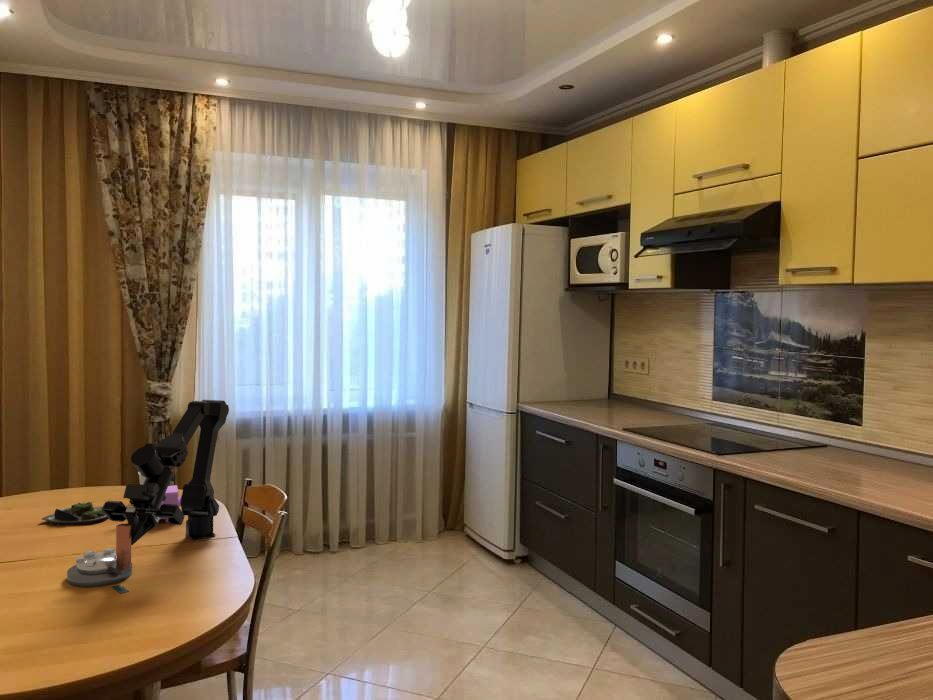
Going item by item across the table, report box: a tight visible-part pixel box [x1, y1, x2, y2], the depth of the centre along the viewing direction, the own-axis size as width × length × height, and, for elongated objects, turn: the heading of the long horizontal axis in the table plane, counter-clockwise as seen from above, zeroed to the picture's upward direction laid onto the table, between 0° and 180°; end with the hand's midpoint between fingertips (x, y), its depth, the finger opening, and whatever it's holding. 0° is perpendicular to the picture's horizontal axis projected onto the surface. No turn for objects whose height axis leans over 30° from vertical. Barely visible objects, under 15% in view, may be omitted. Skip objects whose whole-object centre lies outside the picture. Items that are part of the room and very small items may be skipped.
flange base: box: [66, 561, 133, 594], centre depth 169 cm, size 14×21×2 cm, turn 39°
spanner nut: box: [75, 522, 132, 575], centre depth 170 cm, size 16×10×12 cm, turn 60°
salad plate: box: [41, 501, 109, 526], centre depth 218 cm, size 19×18×5 cm
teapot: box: [123, 484, 181, 523], centre depth 217 cm, size 15×13×11 cm
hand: (129, 544), depth 168 cm, fingers closed, pressing on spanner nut
